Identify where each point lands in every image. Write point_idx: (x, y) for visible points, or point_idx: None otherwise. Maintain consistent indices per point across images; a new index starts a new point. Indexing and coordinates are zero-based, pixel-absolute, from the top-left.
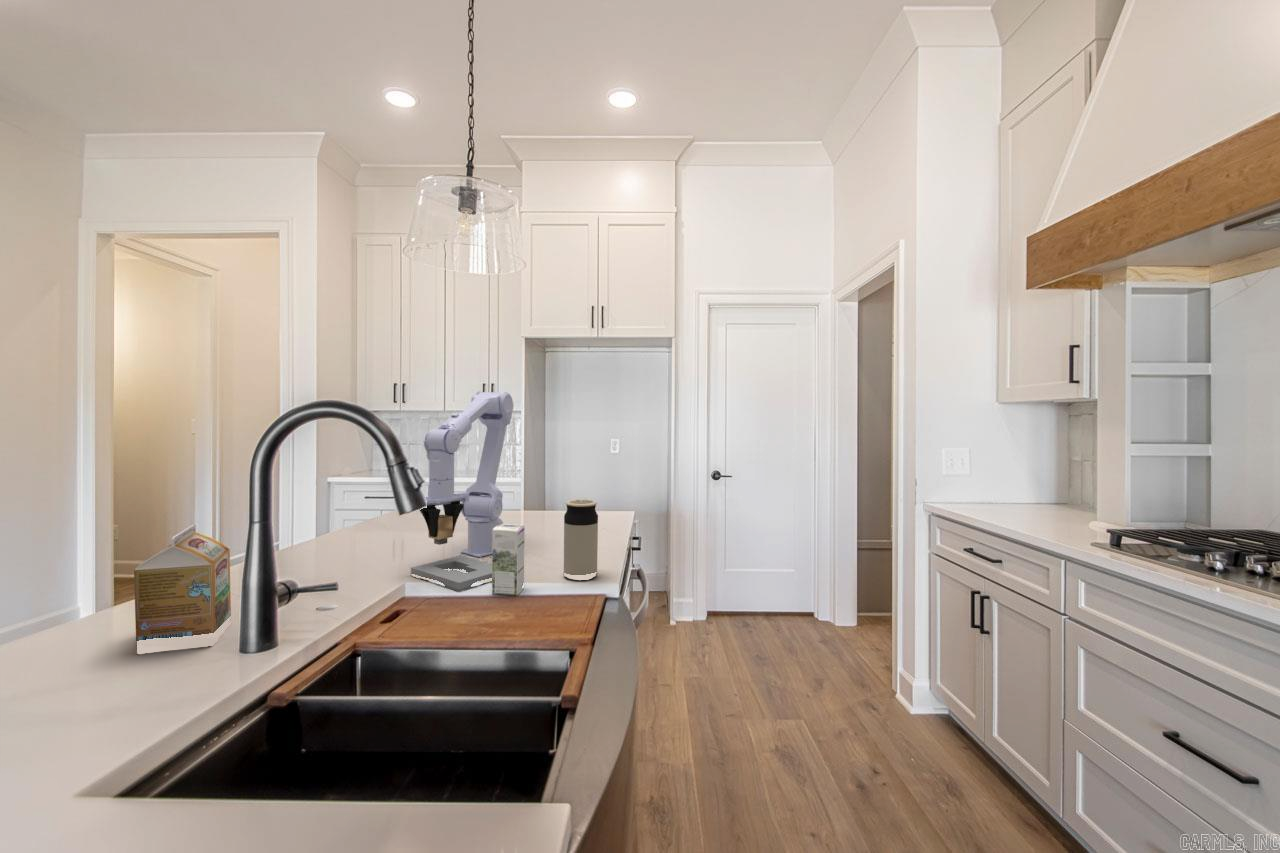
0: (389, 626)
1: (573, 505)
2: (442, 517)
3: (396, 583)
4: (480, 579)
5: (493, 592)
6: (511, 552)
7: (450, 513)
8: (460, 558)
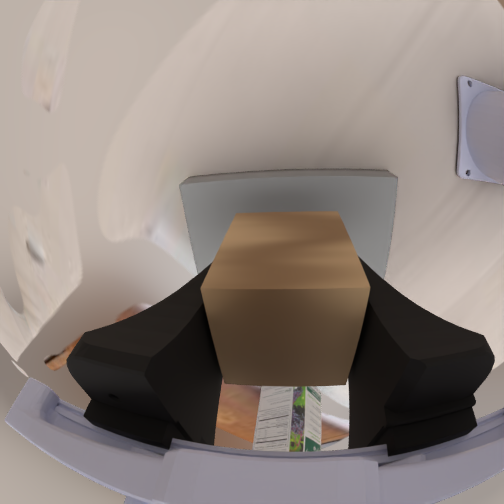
0: None
1: None
2: (274, 373)
3: (136, 212)
4: None
5: (262, 389)
6: None
7: (359, 379)
8: (370, 213)
